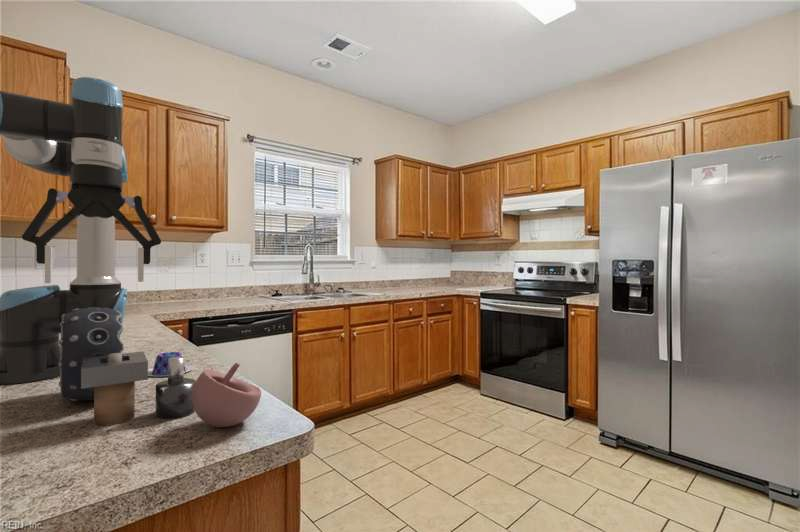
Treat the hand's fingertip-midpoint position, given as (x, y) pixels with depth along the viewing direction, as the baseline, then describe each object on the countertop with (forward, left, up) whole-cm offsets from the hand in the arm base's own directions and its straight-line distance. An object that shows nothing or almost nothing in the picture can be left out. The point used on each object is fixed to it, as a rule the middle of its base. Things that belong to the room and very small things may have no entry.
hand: (97, 282), depth 75 cm
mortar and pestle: (+13, +20, -27) cm, 36 cm away
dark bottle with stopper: (+1, +13, -27) cm, 29 cm away
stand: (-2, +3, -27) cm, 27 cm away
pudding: (-34, +16, -27) cm, 46 cm away
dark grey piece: (-19, -1, -27) cm, 33 cm away
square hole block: (-2, +3, -19) cm, 19 cm away
